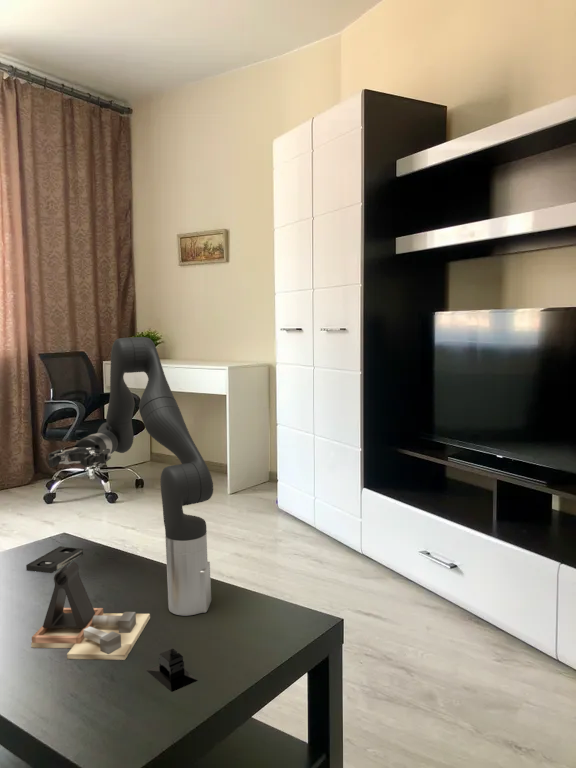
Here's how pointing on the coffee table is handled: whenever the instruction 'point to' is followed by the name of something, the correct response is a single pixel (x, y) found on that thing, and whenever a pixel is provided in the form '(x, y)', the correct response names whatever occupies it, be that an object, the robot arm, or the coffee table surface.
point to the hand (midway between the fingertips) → (68, 462)
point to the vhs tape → (54, 559)
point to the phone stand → (77, 597)
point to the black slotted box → (172, 671)
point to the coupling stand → (95, 636)
